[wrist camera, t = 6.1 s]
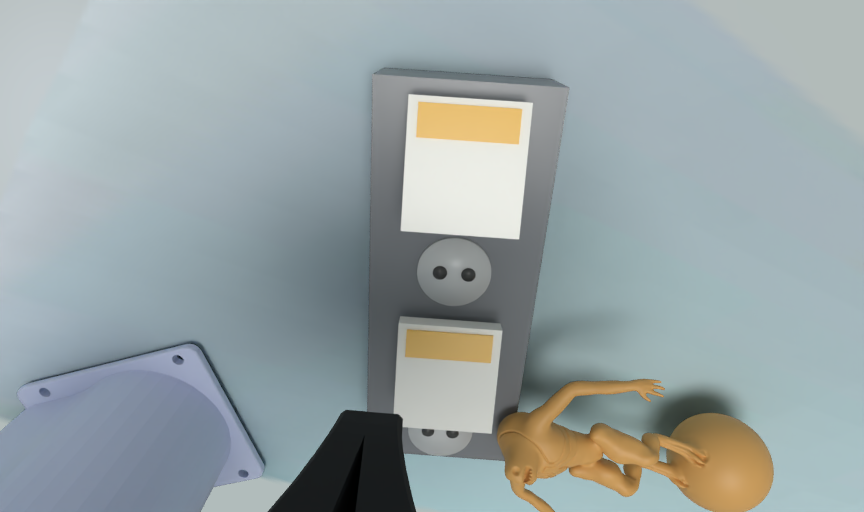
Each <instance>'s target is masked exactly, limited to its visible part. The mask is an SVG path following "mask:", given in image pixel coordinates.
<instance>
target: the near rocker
mask: <svg viewBox="0 0 864 512" xmlns="http://www.w3.org/2000/svg"><path fill="white" fill-rule="evenodd" d="M532 108H533V103H529V102H515V101H500V100H486V99H471V98H457V97H442V96H428V95H413V94H409V95H408V113H407V130H406V147H405V164H404V182H403V199H402V216H401V231H407V232H421V233H435V234H449V235H463V236H477V237H491V238H505V239H519V236H520V226H521V216H522V206H523V196H524V187H525V177H526V167H527V157H528V147H529V137H530V127H531V118H532Z"/></svg>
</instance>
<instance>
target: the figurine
mask: <svg viewBox="0 0 864 512" xmlns="http://www.w3.org/2000/svg"><path fill="white" fill-rule="evenodd" d="M653 383H661V381H658V380H651V379H637V380H632V381H573V382H570V383H568V384H566V385H565V386H564V387H562V388H561V389H560V390H559V391H558V392H556V393H555V394H554V395H553V396H552V397H551V398H550V399H549V400H548V401H547V402H546V403H545V404H543V405H542V406H541V407H539V408H537V409H535V410H533V411H532V412H531V413H526V412H517V413H513V414H510V415H508V416H507V417H505V418H504V419H503V420H502V421H501V422H500V424H499V427H498V431H497V442H498V444H499V447H500V449H501V451H502V454H503V456H504V459H505V475H506V478H507V479H509V480H510V483H511V488H512V490H513V492H514V493H515V494H516V495H517V496H518V497H519V498H521V499H523V500H525V501H527V502H529V503H530V504H532V505H533V506H534V507H535V508H536V509H537V510H539V511H540V512H555V511H554V510H553V509H552V508H551V507H550V506H549V505H548V504H547V503H546V502H545V501H544V500H542V499H541V498H539V497H538V496H536V495H535V494H534V493H533V492H531V491H530V490H527V489H525V488H524V487H525V484H528V485H532V484H533V483H534V482H535V481H536V479H537V478H549V477H550V478H551V477H554V476H556V475H557V474H560V473H562V472H563V471H565V470H566V469H567V467H568V468H569V472H570V474H571V475H572V476H574V477H579V478H582V479H586V480H592V481H595V482H597V483H599V484H601V485H604V486H606V487H608V488H610V489H612V490H615V491H616V492H618V493H619V494H621V495H622V496H625V497H629V496H632V495H633V494H634V493H635V492H636V491H637V490H638V487H639V482H640V478H641V474H642V467H643V468H646V469H649V470H652V471H655V472H657V473H660V474H662V475H664V476H666V477H668V478H669V479H670V480H671V481H672V482H673V483H674V484H675V485H677V487H678V488H679V489H680V490H681V491H682V493H683V494H684V495H685V496H686V497H688V498H689V499H690V500H691V501H693V502H694V503H696V504H697V505H699V506H701V507H703V508H705V509H707V510H710V511H713V512H745V511H748V510H750V509H752V508H754V507H756V506H757V505H758V504H760V503H761V502H762V501H763V500H764V499H765V497H766V496H767V494H768V493H769V491H770V488H771V486H772V482H773V475H774V470H773V462H772V458H771V455H770V453H769V451H768V448H767V447H766V445H765V443H764V442H763V440H762V439H761V438H760V437H759V435H758V434H757V433H756V432H755V431H754V430H753V429H751V428H750V427H749V426H748V425H746V424H745V423H743V422H741V421H740V420H738V419H736V418H733V417H731V416H728V415H724V414H719V413H702V414H698V415H694V416H692V417H689V418H687V419H686V420H684V421H683V422H681V423H680V424H679V425H678V426H677V427H676V428H675V429H674V431H673V432H672V434H671V436H670V437H668V436H665V435H661V434H657V433H653V434H652V433H645V434H644V435H643V436H642V439H641V441H639V440H638V439H636V438H634V437H632V436H630V435H627V434H625V433H622V432H620V431H618V430H615V429H612V428H611V427H609V426H608V425H606V424H603V423H597V424H594V425H593V426H592V427H591V430H590V433H589V434H582V433H579V432H576V431H572V430H569V429H567V428H565V427H563V426H560V425H558V424H555V423H553V422H552V421H553V420H554V419H555V418H556V417H557V416H558V415H559V414H560V413H561V412H562V411H563V410H564V409H565V408H566V407H567V406H568V404H569V403H570V402H571V401H572V400H573V398H574V397H576V396H582V395H592V394H618V393H623V392H629V391H637V392H638V393H639V394H640V395H641V397H643V398H644V399H645V400H647V401H649V402H651V400H650V399H649V398H648V397H647V396H646V394H647V393H649V394H653V395H657V396H660V397H664V396H663V395H662V394H660V393H658V392H655V391H654V390H653V389H661V390H665V388H663V387H661V386H657V385H654V384H653ZM660 446H661V447H664V448H667V451H666V457H667V463H664V462H661V461H658V460H659V450H660ZM603 453H604V454H605V455H606V456H607V457H608V458H610V459H611V460H612V461H610V460H607V459H604V458H602V457H603ZM613 461H614V462H616V463H619V464H624V466H623V469H624V473H625V475H624V474H623V473H622V472H621V470H620V468H619V467H618V465H617V464H616V463H614V462H613Z"/></svg>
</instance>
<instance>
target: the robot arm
mask: <svg viewBox="0 0 864 512" xmlns="http://www.w3.org/2000/svg"><path fill="white" fill-rule="evenodd" d="M177 355H179V356H181V357H182V358H183V360H181V359H179V358H178V357H177ZM47 389H48V390H47ZM17 396H18V398H19V400H20V401H21V403H22V404H23V405H24V407H25V408H26V409H25V410H24V411H23V412H21V413H20V414H19V415H18V416H17V417H16V418H15V419H13V420H12V421H11V422H10V423H9V424H8V425H7V426H6V427H4V428H3V429H2V430H1V431H0V512H201V510H202V508H203V506H204V504H205V502H206V500H207V498H208V496H209V494H210V492H211V490H212V489H213V487H216V486H221V485H226V484H231V483H236V482H241V481H246V480H250V479H256V478H259V477H261V476H262V474H263V472H264V469H265V466H264V464H263V462H262V460H261V458H260V456H259V455H258V453H257V451H256V449H255V447H254V446H253V444H252V442H251V440H250V438H249V436H248V435H247V433H246V431H245V429H244V427H243V426H242V424H241V422H240V420H239V418H238V416H237V415H236V413H235V411H234V409H233V407H232V406H231V404H230V402H229V400H228V398H227V396H226V395H225V393H224V391H223V389H222V387H221V386H220V384H219V382H218V380H217V378H216V376H215V375H214V373H213V371H212V369H211V367H210V366H209V364H208V362H207V360H206V358H205V356H204V355H203V353H202V351H201V350H200V348H199V347H197V346H196V345H193V344H185V345H181V346H177V347H173V348H169V349H164V350H160V351H156V352H152V353H148V354H144V355H140V356H136V357H132V358H128V359H124V360H120V361H116V362H112V363H108V364H104V365H100V366H96V367H92V368H88V369H84V370H80V371H76V372H72V373H68V374H64V375H60V376H56V377H52V378H48V379H44V380H40V381H36V382H32V383H28V384H25V385H23V386H22V387H21V388H19V389H18V391H17ZM402 428H403V418H402V417H401V416H400V415H399V414H390V413H378V412H365V411H353V410H345V411H344V412H342V413H341V414H340V416H339V418H338V419H337V421H336V423H335V424H334V426H333V428H332V429H331V431H330V432H329V434H328V435H327V437H326V438H325V440H324V441H323V443H322V444H321V445H320V447H319V448H318V450H317V451H316V453H315V454H314V455H313V457H312V458H311V459H310V461H309V462H308V463H307V465H306V466H305V467H304V468H303V470H302V471H301V472H300V474H299V475H298V476H297V478H296V479H295V480H294V481H293V483H292V484H291V485H290V486H289V488H288V489H287V490H286V491H285V492H284V493H283V495H282V496H281V497H280V498H279V499H278V500H277V501H276V503H275V504H274V505H273V506H272V507H271V509H270V510H269V511H268V512H416V509H415V506H414V502H413V498H412V494H411V490H410V485H409V480H408V476H407V471H406V466H405V460H404V452H403V443H402ZM244 470H246V471H244Z"/></svg>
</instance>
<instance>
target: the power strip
mask: <svg viewBox="0 0 864 512" xmlns="http://www.w3.org/2000/svg"><path fill="white" fill-rule="evenodd" d="M568 93H569V87H567V86H565V85H563V84H561V83H559V82H557V81H554V80H552V79H540V78H526V77H511V76H497V75H482V74H468V73H453V72H439V71H424V70H409V69H395V68H383V69H381V70H379V71H377V72H376V73H374V74H373V75H372V139H371V204H370V268H369V333H368V397H367V412H378V413H390V414H394V397H395V379H396V361H397V343H398V325H399V319H400V316H404V317H418V318H432V319H446V320H460V321H473V322H487V323H500V324H501V327H502V340H501V349H500V359H499V368H498V378H497V387H496V397H495V406H494V415H493V425H492V434H488V433H475V432H461V431H448V430H434V429H421V428H408V427H403V428H402V443H403V452H404V453H405V454H419V455H432V456H445V457H459V458H472V459H486V460H499V461H505V459H504V456H503V454H502V451H501V449H500V447H499V444H498V442H497V431H498V427H499V424H500V422H501V421H502V420H503V419H504V418H505V417H507V416H508V415H510V414H513V413H517V410H518V404H519V397H520V391H521V385H522V379H523V373H524V366H525V360H526V354H527V348H528V342H529V335H530V329H531V323H532V317H533V311H534V304H535V298H536V292H537V286H538V280H539V273H540V267H541V261H542V255H543V249H544V242H545V236H546V230H547V224H548V218H549V211H550V205H551V199H552V193H553V187H554V180H555V174H556V168H557V162H558V156H559V149H560V143H561V137H562V131H563V124H564V118H565V112H566V106H567V100H568ZM409 94H413V95H428V96H442V97H457V98H471V99H486V100H500V101H515V102H529V103H533V108H532V118H531V127H530V137H529V147H528V157H527V167H526V177H525V187H524V196H523V206H522V216H521V226H520V236H519V239H505V238H491V237H477V236H463V235H449V234H435V233H421V232H407V231H401V216H402V199H403V182H404V164H405V147H406V130H407V113H408V95H409Z"/></svg>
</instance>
